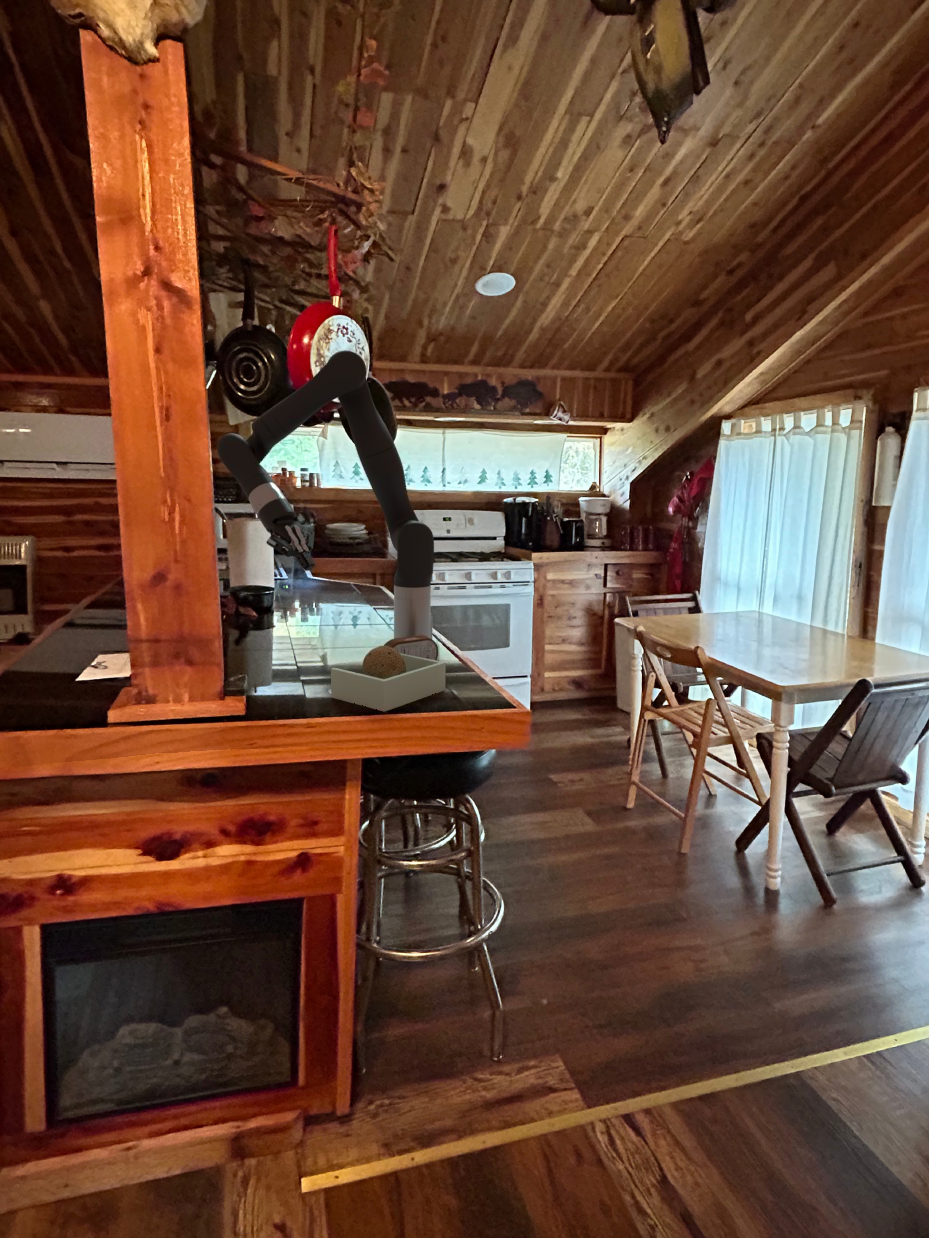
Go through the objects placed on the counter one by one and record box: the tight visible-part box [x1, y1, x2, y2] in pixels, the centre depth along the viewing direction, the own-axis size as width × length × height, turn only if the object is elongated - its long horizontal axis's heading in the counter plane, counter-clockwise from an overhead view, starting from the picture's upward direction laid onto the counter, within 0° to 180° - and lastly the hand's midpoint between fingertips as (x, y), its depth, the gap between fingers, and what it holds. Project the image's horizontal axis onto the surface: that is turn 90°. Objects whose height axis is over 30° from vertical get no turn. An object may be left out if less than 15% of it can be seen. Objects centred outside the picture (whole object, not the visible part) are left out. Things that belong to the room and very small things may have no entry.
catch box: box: [330, 653, 447, 712], centre depth 156 cm, size 19×14×6 cm
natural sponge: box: [362, 645, 406, 679], centre depth 156 cm, size 9×9×10 cm
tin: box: [383, 635, 439, 661], centre depth 172 cm, size 15×3×8 cm, turn 128°
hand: (310, 568), depth 167 cm, fingers closed
